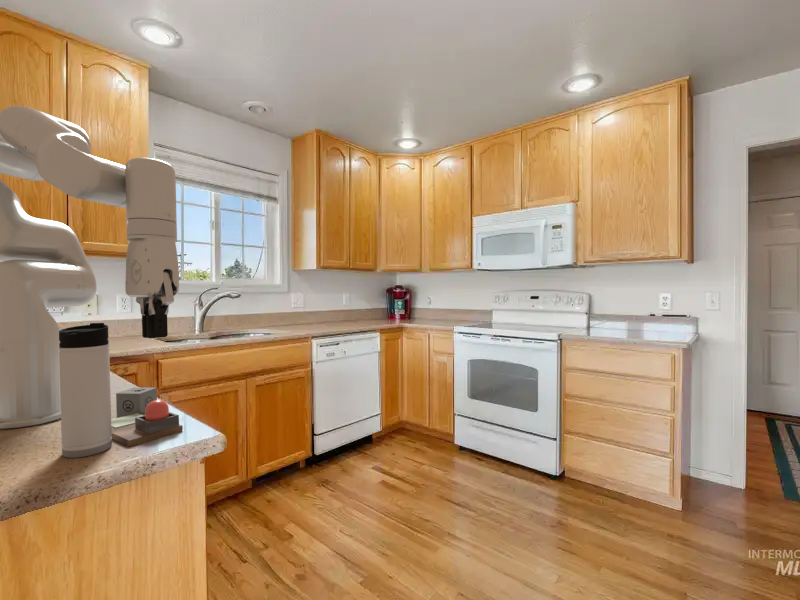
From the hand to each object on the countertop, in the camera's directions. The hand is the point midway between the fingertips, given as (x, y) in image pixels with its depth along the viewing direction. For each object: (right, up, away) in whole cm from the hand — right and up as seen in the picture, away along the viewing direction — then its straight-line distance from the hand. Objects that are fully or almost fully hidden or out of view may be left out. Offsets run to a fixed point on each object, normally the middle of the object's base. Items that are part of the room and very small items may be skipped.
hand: (155, 336), depth 72 cm
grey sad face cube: (-11, -17, +12) cm, 24 cm away
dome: (0, -15, 0) cm, 15 cm away
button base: (-5, -17, +2) cm, 18 cm away
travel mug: (-6, -18, -7) cm, 20 cm away
